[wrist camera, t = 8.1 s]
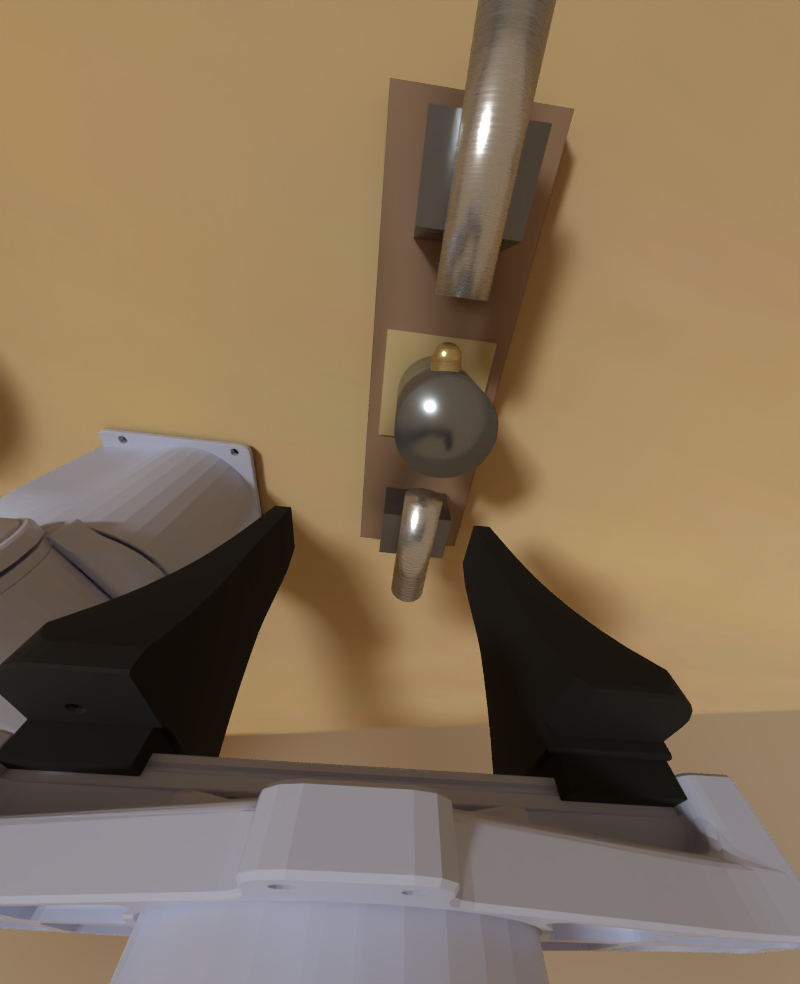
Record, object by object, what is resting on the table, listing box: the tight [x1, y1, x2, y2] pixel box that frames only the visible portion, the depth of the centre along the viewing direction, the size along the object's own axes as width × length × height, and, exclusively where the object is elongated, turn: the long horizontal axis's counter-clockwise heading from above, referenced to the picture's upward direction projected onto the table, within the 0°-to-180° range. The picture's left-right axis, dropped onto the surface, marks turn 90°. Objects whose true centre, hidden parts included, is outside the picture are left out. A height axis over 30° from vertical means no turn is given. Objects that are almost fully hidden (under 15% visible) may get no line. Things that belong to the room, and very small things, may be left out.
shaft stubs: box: [379, 0, 556, 602], centre depth 15 cm, size 4×23×5 cm, turn 173°
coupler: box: [394, 342, 498, 478], centre depth 15 cm, size 4×6×6 cm, turn 177°
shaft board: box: [360, 78, 574, 546], centre depth 18 cm, size 7×22×1 cm, turn 173°
